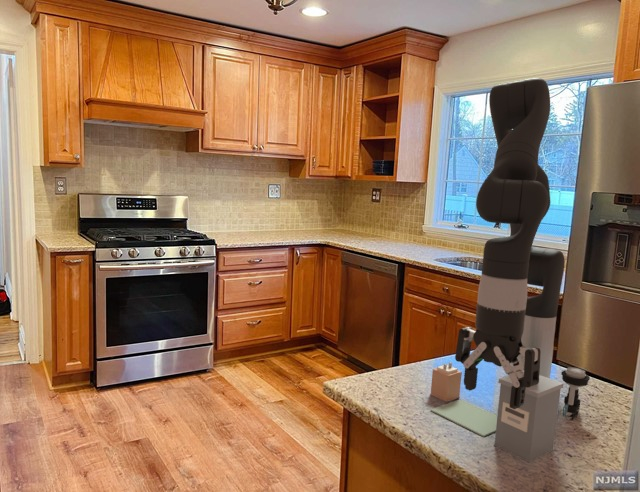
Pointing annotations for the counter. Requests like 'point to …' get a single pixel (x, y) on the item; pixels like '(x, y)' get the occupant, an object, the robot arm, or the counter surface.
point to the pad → (468, 416)
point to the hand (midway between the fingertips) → (491, 397)
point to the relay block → (446, 382)
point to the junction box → (528, 419)
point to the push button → (573, 390)
